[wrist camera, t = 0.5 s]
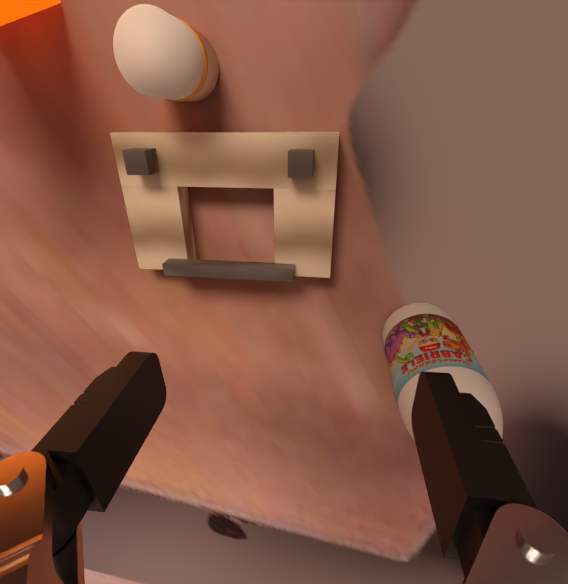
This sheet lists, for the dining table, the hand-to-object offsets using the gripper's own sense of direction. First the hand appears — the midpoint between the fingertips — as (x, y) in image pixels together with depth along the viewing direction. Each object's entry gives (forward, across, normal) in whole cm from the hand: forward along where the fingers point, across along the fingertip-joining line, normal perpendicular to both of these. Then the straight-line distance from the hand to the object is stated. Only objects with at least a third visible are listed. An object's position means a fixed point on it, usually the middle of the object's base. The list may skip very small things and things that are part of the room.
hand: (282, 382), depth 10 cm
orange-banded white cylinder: (+26, +11, -11) cm, 30 cm away
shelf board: (+25, +8, +1) cm, 27 cm away
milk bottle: (+25, -11, +15) cm, 31 cm away
